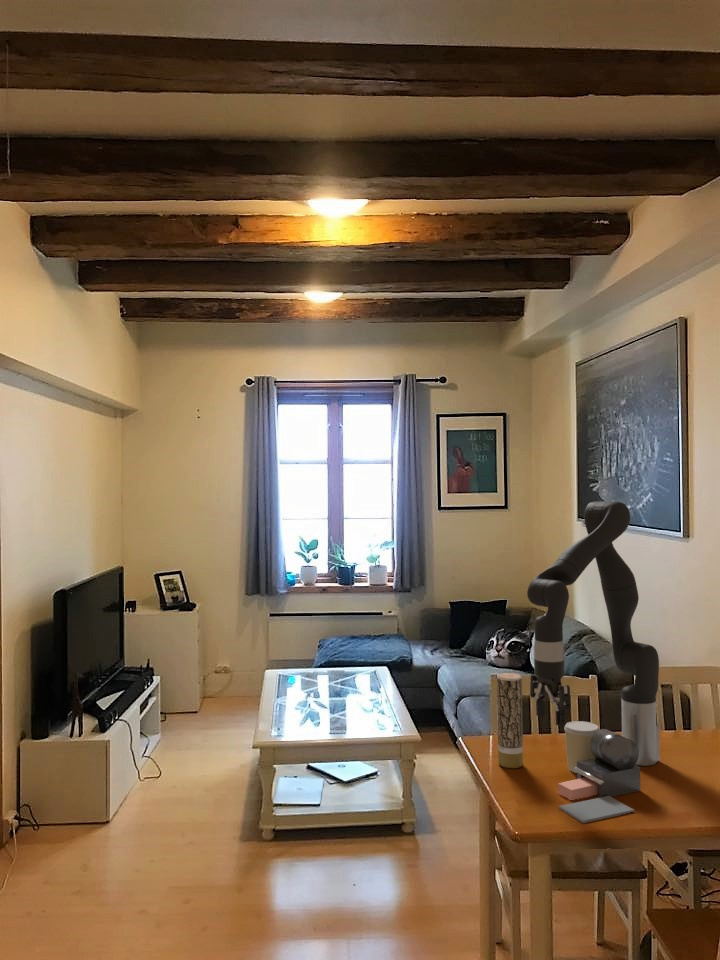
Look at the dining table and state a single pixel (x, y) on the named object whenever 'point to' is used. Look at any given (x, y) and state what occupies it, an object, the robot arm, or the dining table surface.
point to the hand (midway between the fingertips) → (550, 720)
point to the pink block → (578, 788)
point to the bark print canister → (510, 720)
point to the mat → (596, 809)
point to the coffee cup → (578, 741)
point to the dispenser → (611, 764)
